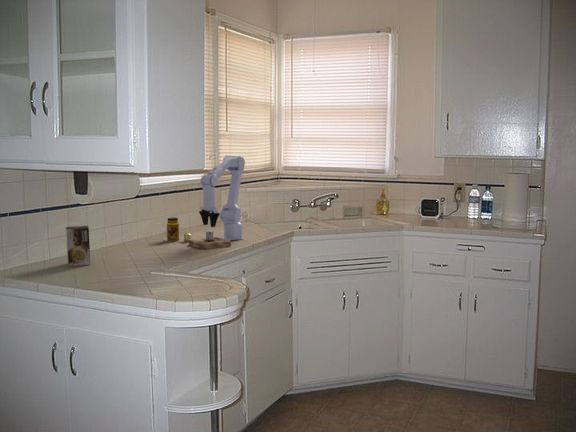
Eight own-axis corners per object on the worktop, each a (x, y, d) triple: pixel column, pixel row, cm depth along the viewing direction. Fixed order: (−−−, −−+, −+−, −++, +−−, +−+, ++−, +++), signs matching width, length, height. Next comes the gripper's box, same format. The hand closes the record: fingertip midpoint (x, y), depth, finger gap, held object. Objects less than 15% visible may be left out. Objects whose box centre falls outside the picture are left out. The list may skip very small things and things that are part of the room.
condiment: (169, 242, 330) (168, 219, 328) (163, 239, 337) (162, 217, 335) (182, 241, 333) (182, 218, 332) (176, 238, 341) (176, 216, 339)
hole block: (216, 241, 332) (216, 237, 332) (230, 246, 321) (230, 241, 321) (188, 245, 323) (188, 240, 323) (202, 249, 312) (202, 244, 311)
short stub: (189, 240, 335) (189, 233, 334) (192, 241, 332) (192, 234, 331) (182, 241, 333) (182, 233, 332) (186, 242, 330) (186, 234, 329)
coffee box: (89, 262, 280) (88, 225, 278) (90, 265, 275) (89, 227, 272) (67, 263, 277) (65, 226, 275) (67, 266, 271) (66, 228, 269)
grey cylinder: (210, 244, 324) (210, 230, 323) (214, 245, 322) (214, 231, 321) (204, 245, 322) (204, 231, 321) (208, 246, 319) (208, 232, 318)
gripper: (194, 197, 323) (195, 224, 325) (209, 200, 311) (209, 228, 313) (207, 196, 327) (207, 223, 329) (221, 199, 315) (222, 227, 317)
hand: (209, 225), depth 321 cm, fingers open, 7 cm apart
